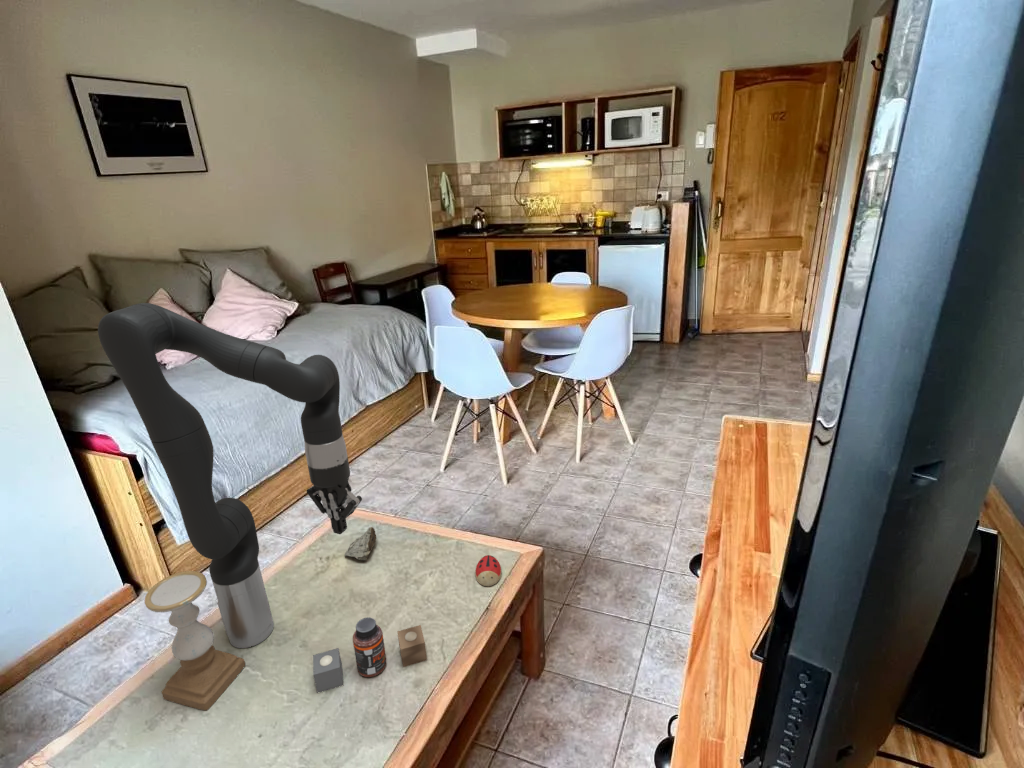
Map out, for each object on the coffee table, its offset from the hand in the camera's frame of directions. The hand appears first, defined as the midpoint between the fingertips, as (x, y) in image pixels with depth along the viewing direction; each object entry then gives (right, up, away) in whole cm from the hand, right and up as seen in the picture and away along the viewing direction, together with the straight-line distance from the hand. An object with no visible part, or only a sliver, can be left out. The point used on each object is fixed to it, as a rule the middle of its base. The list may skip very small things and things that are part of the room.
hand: (340, 531), depth 112 cm
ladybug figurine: (+29, -18, +26) cm, 43 cm away
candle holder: (-27, -31, -1) cm, 41 cm away
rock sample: (-5, -16, +35) cm, 39 cm away
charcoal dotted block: (-2, -30, -1) cm, 30 cm away
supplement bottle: (+6, -29, +1) cm, 29 cm away
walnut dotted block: (+14, -27, +4) cm, 31 cm away
